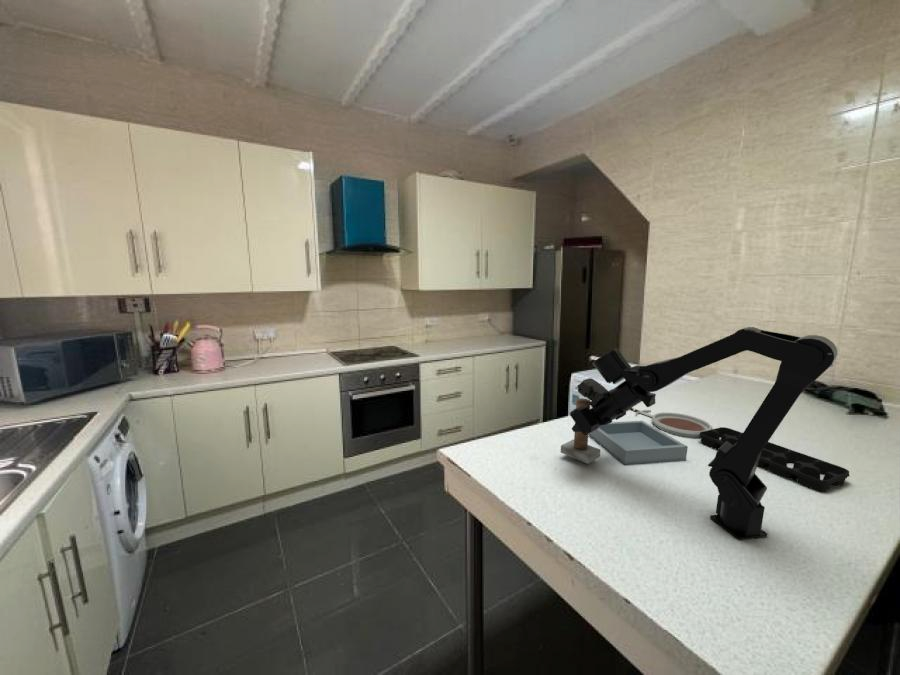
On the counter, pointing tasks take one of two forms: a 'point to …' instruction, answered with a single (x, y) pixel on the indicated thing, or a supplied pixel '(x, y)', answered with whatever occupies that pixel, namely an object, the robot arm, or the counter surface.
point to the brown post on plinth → (581, 442)
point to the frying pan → (678, 423)
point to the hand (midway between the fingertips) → (576, 428)
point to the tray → (638, 443)
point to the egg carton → (784, 461)
